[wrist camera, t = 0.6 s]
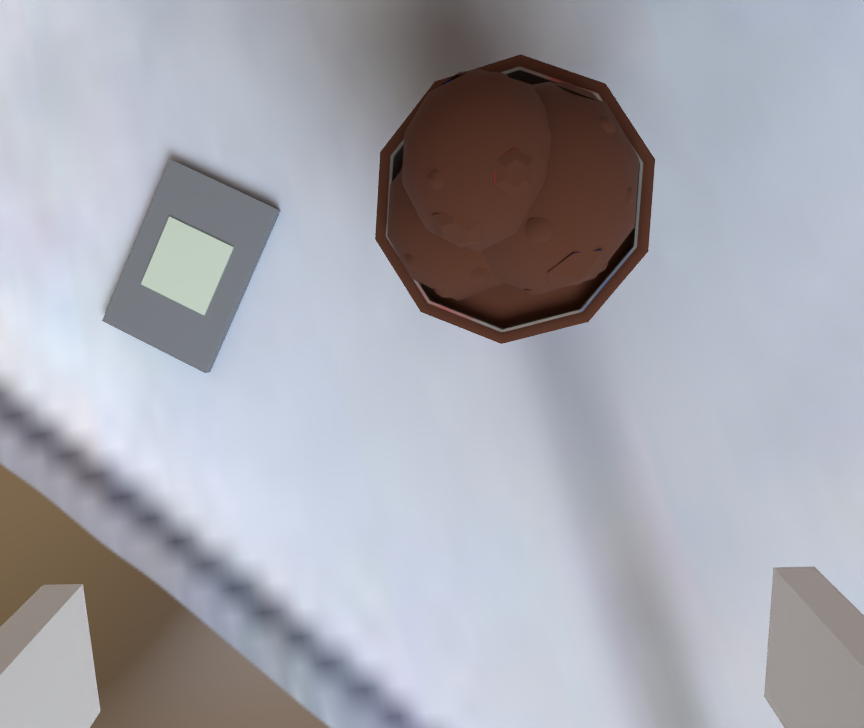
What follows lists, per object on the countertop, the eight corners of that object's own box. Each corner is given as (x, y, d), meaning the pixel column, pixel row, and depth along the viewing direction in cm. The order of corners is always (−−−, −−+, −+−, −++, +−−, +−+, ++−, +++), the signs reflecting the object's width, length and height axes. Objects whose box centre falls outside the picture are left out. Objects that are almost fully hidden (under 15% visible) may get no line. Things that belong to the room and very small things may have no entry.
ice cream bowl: (412, 335, 40) (329, 335, 26) (425, 119, 40) (349, -9, 25) (619, 348, 39) (659, 357, 24) (636, 123, 38) (687, -11, 23)
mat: (175, 161, 42) (168, 158, 41) (280, 210, 41) (275, 208, 41) (108, 320, 43) (101, 320, 42) (209, 372, 42) (204, 372, 42)
